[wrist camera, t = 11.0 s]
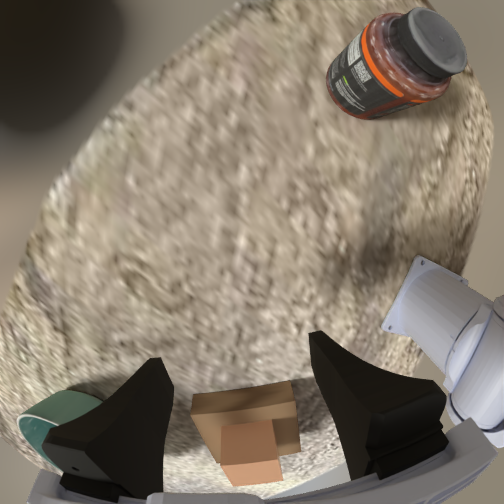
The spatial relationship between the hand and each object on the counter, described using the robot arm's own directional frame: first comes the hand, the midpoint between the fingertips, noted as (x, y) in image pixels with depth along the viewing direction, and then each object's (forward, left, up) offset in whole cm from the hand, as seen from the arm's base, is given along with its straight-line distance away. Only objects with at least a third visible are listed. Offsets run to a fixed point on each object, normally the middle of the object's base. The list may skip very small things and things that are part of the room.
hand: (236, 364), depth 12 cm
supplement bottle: (-4, -19, -11) cm, 22 cm away
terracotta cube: (-7, +15, -7) cm, 18 cm away
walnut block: (-7, +15, -10) cm, 20 cm away
